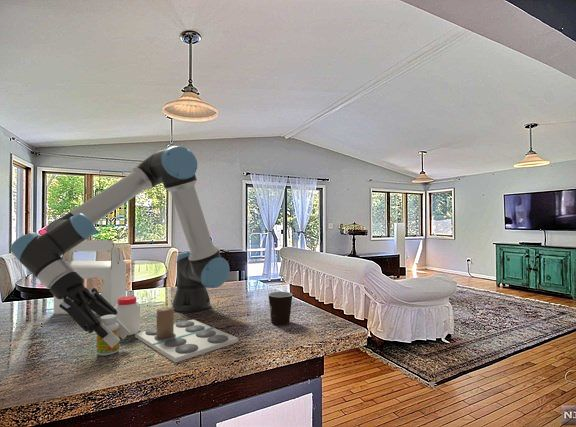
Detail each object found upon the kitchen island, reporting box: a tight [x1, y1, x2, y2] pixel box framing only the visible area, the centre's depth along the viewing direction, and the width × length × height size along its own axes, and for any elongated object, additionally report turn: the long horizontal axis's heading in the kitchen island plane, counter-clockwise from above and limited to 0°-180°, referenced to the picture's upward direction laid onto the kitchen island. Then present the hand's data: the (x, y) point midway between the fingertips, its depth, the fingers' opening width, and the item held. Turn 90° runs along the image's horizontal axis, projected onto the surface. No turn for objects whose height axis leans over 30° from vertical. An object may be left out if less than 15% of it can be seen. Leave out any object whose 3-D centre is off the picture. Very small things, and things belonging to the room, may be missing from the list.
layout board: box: [134, 306, 239, 363], centre depth 102 cm, size 26×20×10 cm
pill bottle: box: [114, 295, 141, 336], centre depth 109 cm, size 8×8×11 cm
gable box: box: [53, 239, 127, 315], centre depth 135 cm, size 22×13×28 cm, turn 92°
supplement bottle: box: [96, 315, 120, 357], centre depth 92 cm, size 5×5×10 cm
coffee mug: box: [267, 291, 293, 327], centre depth 120 cm, size 12×9×10 cm
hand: (121, 339), depth 92 cm, fingers closed on supplement bottle, 5 cm apart
